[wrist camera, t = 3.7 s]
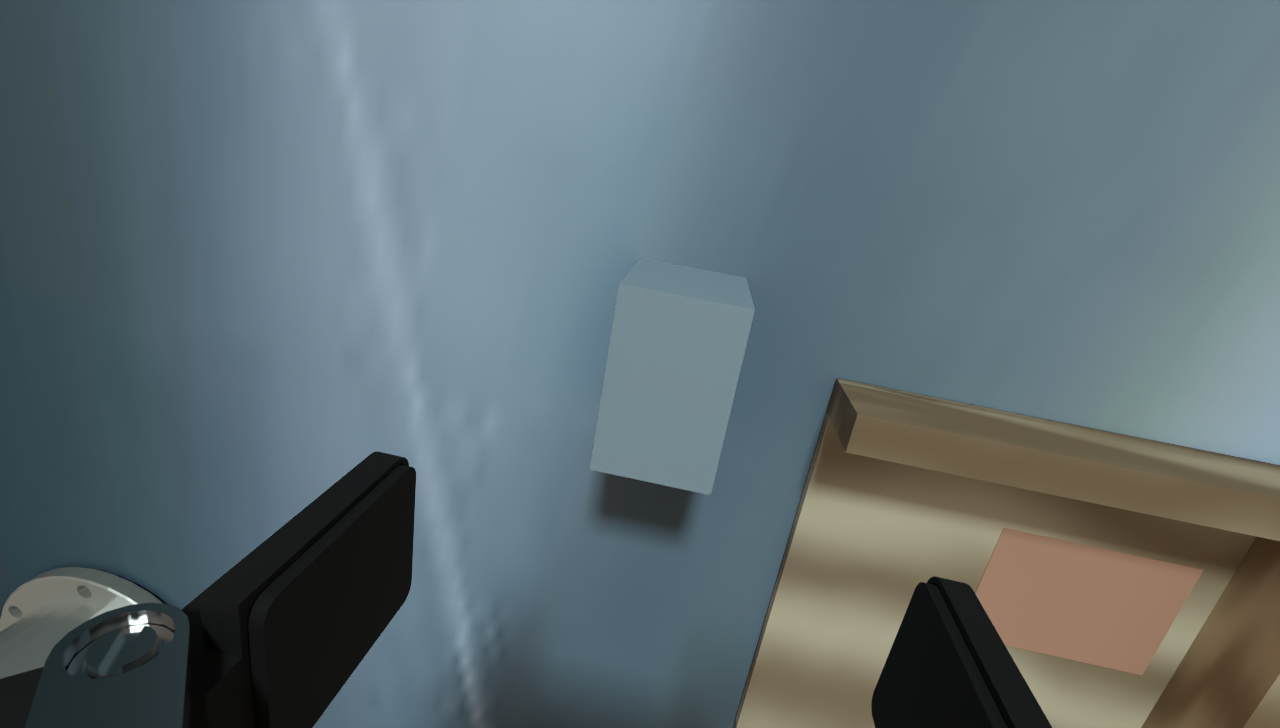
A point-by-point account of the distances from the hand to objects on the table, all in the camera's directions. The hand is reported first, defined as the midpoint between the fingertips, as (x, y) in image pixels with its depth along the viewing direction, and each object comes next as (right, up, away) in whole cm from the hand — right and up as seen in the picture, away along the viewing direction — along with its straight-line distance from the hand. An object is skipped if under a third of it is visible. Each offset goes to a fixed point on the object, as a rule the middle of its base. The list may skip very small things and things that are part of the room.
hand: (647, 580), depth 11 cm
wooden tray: (+16, -8, +17) cm, 25 cm away
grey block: (+2, +5, +15) cm, 16 cm away
